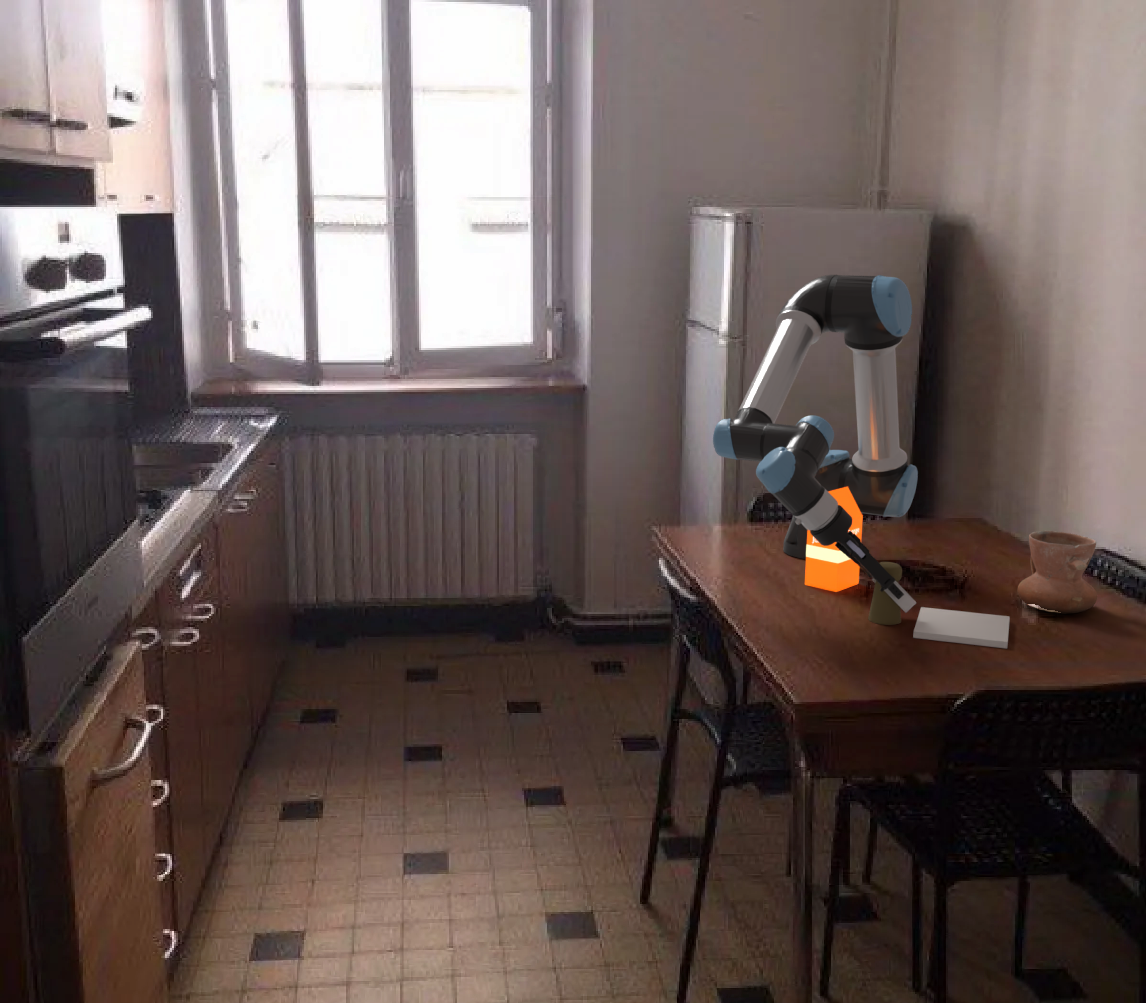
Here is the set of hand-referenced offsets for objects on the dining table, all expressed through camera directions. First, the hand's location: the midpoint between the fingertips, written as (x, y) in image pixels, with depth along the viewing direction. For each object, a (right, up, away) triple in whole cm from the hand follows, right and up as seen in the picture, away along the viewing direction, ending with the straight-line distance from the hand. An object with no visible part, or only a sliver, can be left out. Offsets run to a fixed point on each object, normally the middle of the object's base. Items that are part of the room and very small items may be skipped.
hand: (904, 602), depth 235 cm
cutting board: (+9, -5, -5) cm, 11 cm away
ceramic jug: (+32, -2, +10) cm, 33 cm away
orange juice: (-9, +2, +24) cm, 26 cm away
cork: (-4, -4, 0) cm, 5 cm away
